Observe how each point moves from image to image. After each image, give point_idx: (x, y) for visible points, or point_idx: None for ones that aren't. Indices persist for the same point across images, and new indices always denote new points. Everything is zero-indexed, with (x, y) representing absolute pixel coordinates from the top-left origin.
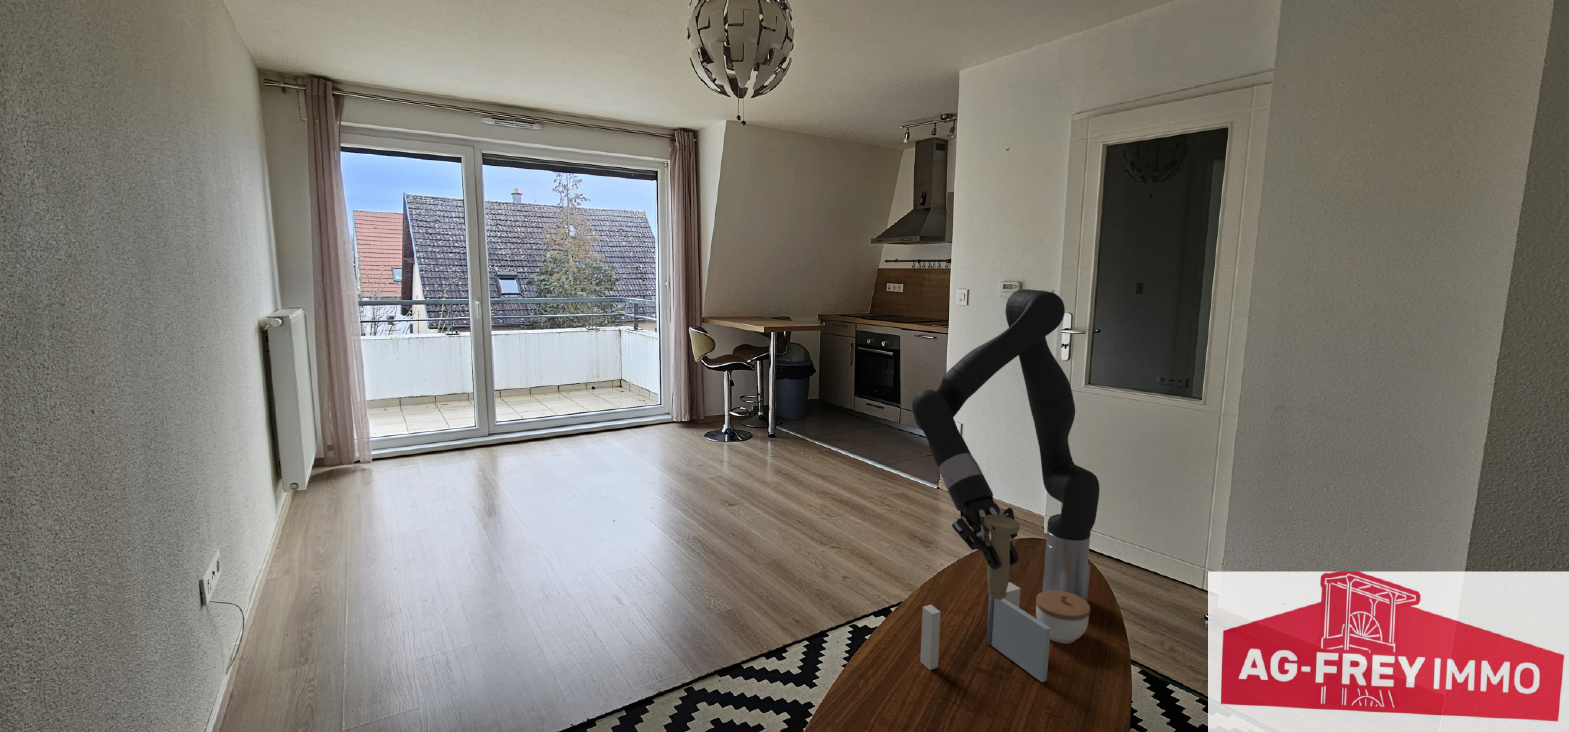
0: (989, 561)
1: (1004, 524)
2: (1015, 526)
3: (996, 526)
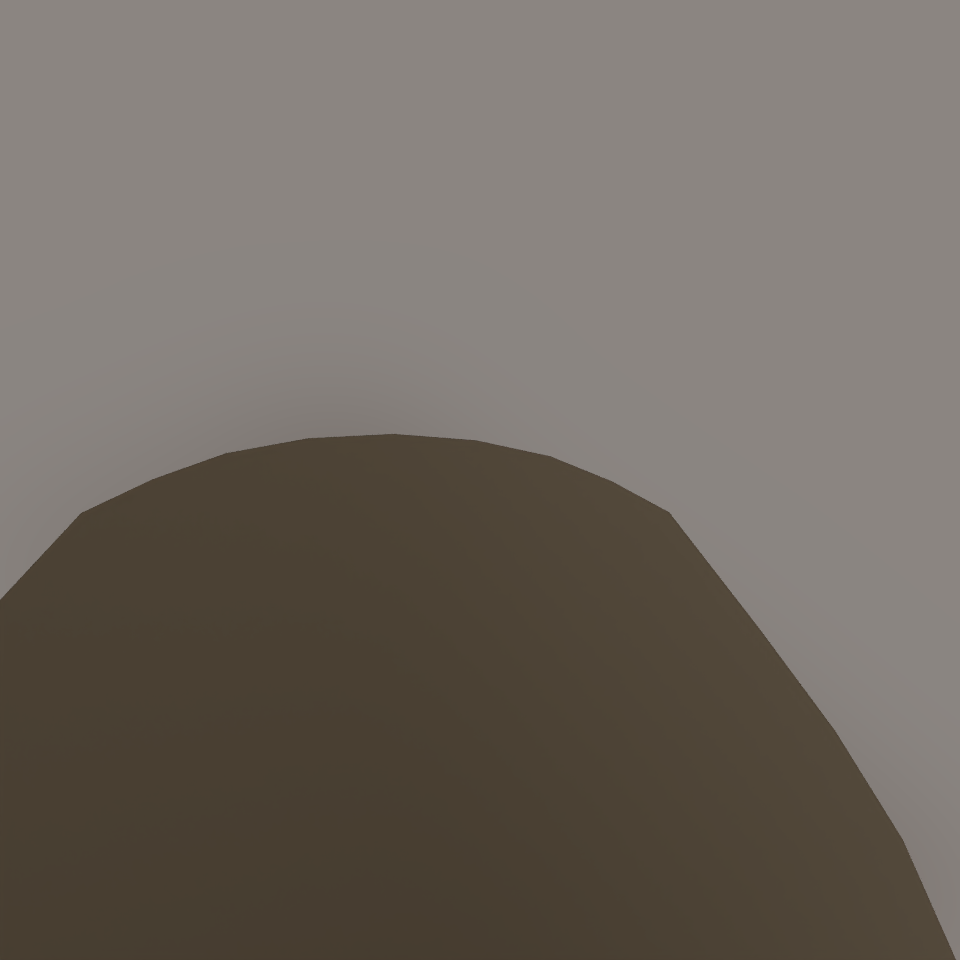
0: None
1: (597, 798)
2: (416, 474)
3: (910, 957)
